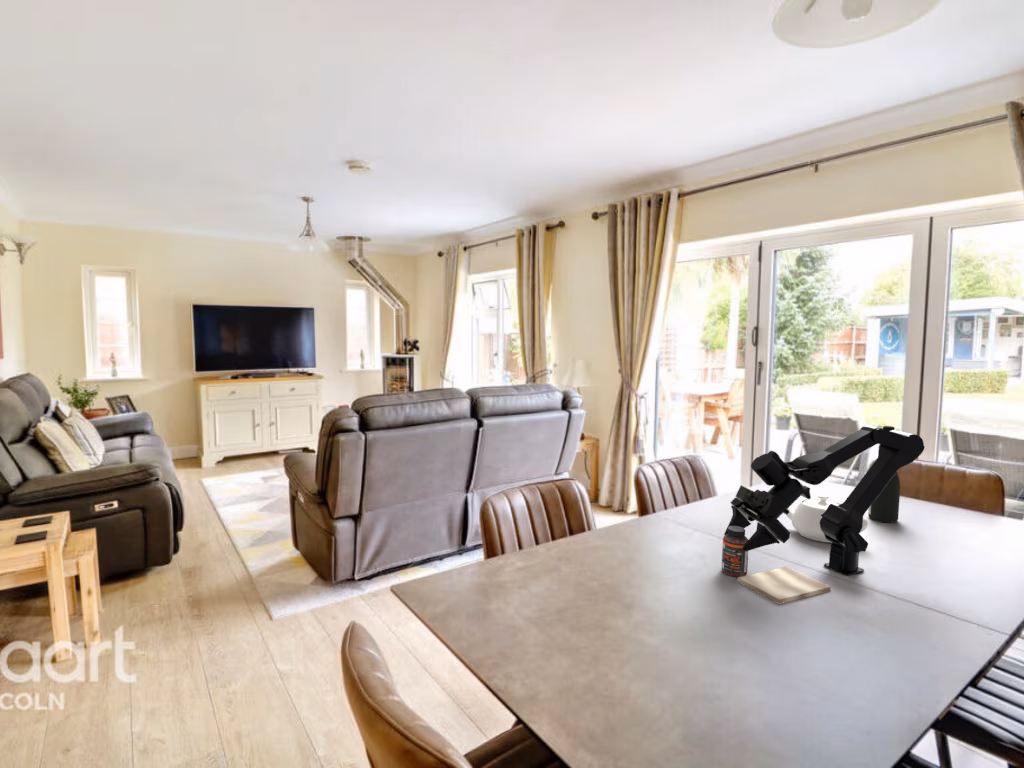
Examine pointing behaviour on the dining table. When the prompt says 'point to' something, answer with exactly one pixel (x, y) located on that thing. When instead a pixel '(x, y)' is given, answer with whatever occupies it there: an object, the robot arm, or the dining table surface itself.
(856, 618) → the dining table surface
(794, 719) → the dining table surface
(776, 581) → the board
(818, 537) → the teapot
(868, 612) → the dining table surface
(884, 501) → the wine bottle
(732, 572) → the supplement bottle
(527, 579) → the dining table surface
